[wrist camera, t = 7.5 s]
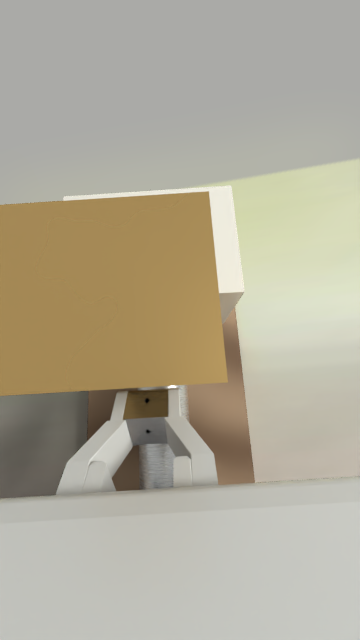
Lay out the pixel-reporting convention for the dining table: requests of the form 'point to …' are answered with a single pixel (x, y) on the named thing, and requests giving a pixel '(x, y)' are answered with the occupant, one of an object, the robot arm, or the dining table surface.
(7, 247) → the block rod assembly
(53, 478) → the dining table surface
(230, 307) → the cream socket block
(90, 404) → the walnut base board
